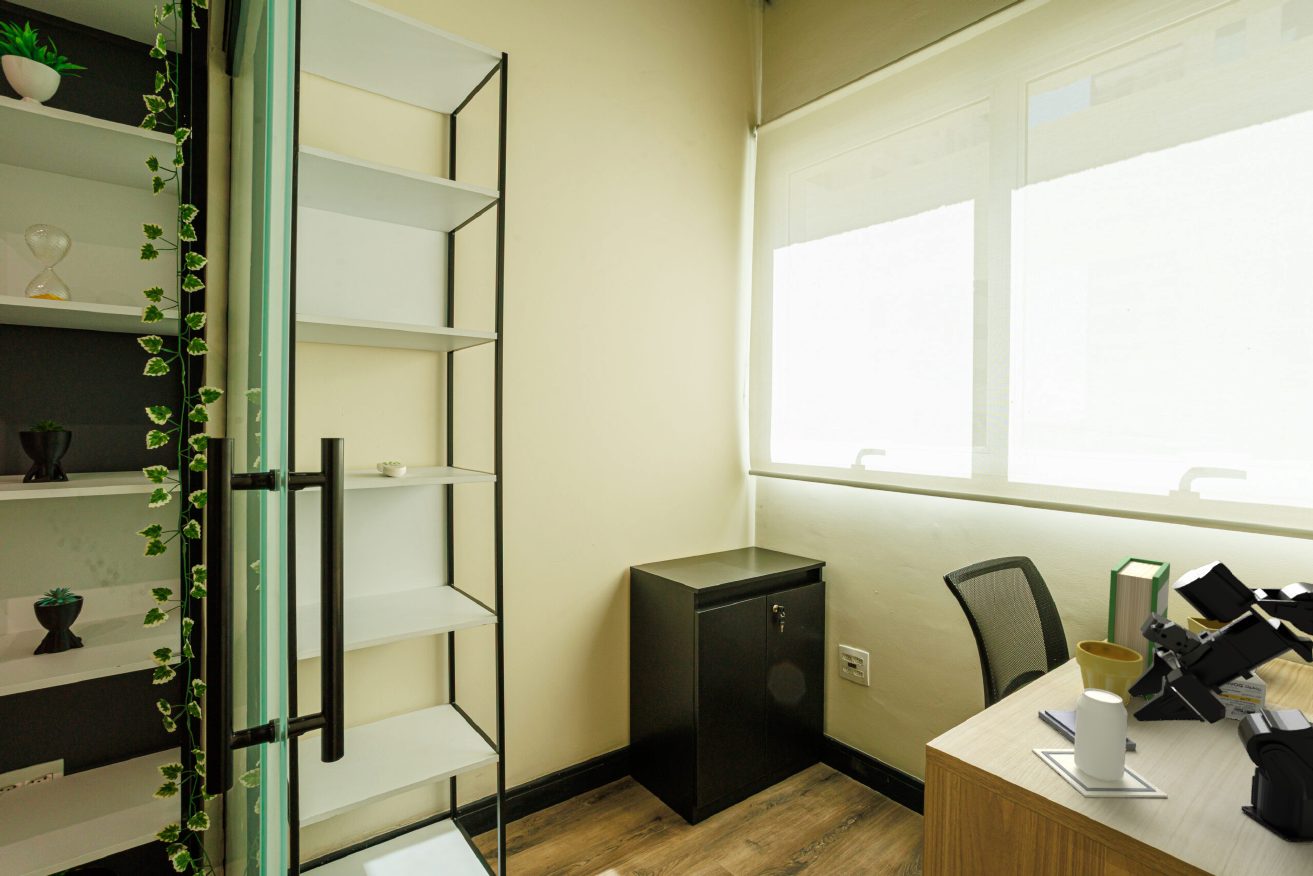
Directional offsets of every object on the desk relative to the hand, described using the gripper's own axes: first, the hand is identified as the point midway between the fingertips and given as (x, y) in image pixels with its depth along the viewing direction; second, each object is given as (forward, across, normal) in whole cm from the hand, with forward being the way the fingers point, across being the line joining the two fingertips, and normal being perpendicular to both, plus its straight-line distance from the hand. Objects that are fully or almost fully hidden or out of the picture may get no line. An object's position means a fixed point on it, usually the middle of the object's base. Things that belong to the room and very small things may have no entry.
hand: (1132, 705), depth 91 cm
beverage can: (+11, +1, +5) cm, 12 cm away
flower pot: (-6, -68, +23) cm, 72 cm away
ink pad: (+12, -14, +4) cm, 19 cm away
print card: (+11, 0, +5) cm, 12 cm away
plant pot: (+9, -31, +7) cm, 33 cm away
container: (-4, -39, +21) cm, 45 cm away
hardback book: (+6, -45, +11) cm, 47 cm away
